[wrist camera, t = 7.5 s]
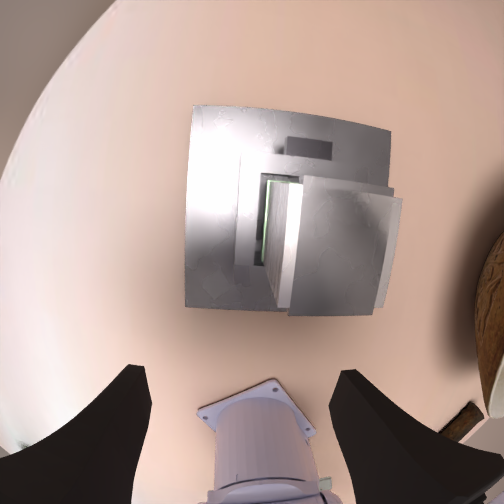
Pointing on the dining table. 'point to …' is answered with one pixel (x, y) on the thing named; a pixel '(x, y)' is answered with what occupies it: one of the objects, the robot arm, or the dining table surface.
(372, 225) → the silver metal block
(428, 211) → the dining table surface
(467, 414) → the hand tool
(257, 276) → the grey square plate
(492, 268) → the bowl
